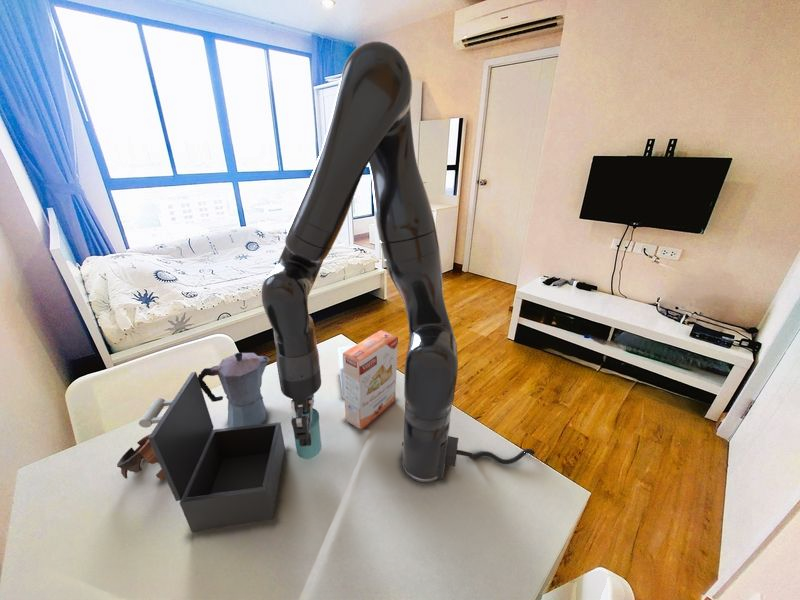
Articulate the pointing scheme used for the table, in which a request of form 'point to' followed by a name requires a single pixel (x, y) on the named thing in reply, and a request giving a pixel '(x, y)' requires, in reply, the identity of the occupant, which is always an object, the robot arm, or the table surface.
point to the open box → (235, 477)
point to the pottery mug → (138, 458)
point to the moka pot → (240, 387)
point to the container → (315, 446)
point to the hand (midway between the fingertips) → (307, 432)
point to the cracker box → (370, 378)
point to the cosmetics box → (340, 359)
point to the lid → (179, 433)
